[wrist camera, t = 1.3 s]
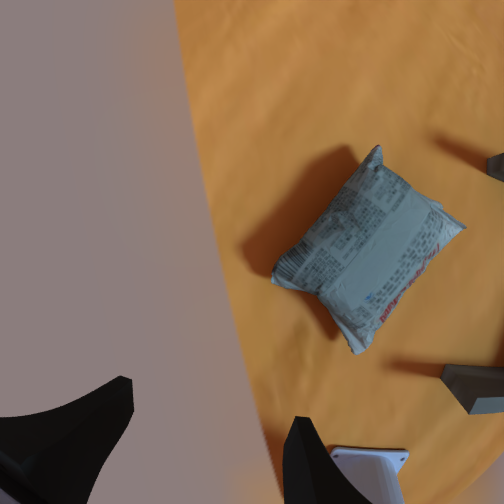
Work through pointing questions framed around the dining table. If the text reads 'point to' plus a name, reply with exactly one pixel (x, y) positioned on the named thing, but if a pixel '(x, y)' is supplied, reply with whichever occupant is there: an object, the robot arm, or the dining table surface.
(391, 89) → the dining table surface
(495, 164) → the grey u-shaped bracket
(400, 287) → the packaged food
